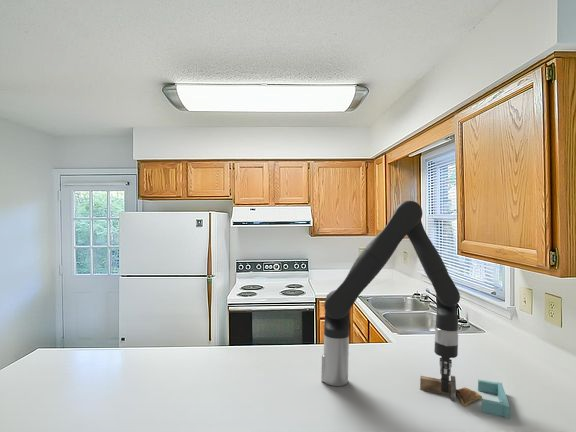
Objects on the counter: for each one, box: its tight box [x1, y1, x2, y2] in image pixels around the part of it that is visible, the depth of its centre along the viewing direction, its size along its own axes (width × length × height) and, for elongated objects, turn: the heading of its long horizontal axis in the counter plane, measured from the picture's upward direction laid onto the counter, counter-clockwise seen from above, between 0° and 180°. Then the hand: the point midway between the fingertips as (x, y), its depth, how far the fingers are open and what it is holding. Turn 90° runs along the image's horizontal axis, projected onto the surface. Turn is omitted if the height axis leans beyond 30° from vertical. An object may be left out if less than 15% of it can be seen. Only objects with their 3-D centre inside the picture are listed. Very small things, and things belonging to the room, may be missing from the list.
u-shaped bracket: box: [477, 379, 511, 419], centre depth 123 cm, size 8×18×4 cm, turn 157°
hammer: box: [419, 375, 457, 402], centre depth 130 cm, size 12×10×4 cm
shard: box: [456, 386, 483, 407], centre depth 126 cm, size 11×8×2 cm
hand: (444, 389), depth 129 cm, fingers closed on hammer, 2 cm apart
